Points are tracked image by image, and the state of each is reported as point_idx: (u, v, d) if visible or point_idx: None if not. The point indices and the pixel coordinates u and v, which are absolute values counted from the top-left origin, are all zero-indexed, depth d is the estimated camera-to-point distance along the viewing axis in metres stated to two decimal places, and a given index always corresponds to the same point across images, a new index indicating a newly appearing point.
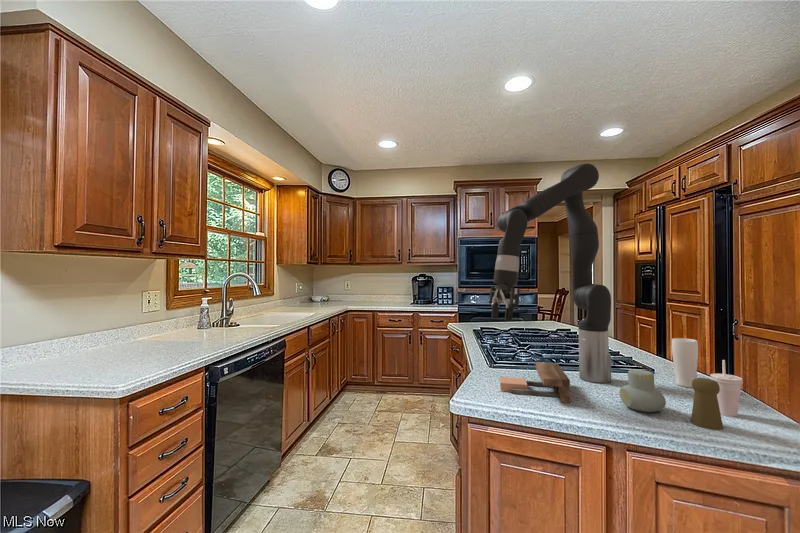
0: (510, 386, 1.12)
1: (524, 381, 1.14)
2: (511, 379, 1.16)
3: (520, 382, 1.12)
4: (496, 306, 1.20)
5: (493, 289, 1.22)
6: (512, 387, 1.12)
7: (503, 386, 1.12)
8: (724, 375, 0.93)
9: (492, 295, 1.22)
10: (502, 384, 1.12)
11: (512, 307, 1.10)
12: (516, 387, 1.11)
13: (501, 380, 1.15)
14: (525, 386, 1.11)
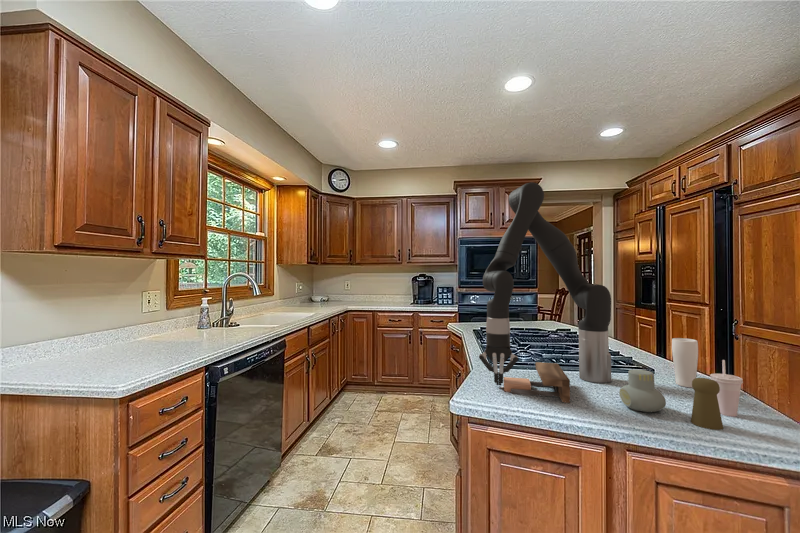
0: (514, 386, 1.11)
1: (528, 381, 1.14)
2: (515, 379, 1.16)
3: (524, 383, 1.12)
4: None
5: (483, 356, 1.17)
6: (516, 387, 1.11)
7: (507, 386, 1.12)
8: (724, 375, 0.93)
9: (487, 362, 1.16)
10: (506, 384, 1.12)
11: None
12: (520, 387, 1.11)
13: (505, 380, 1.15)
14: (529, 386, 1.10)
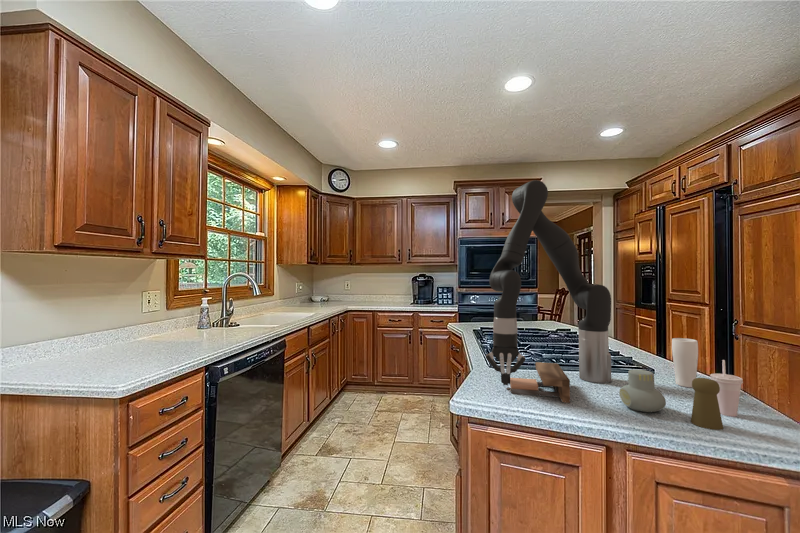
0: (521, 387, 1.11)
1: (535, 382, 1.13)
2: (521, 380, 1.15)
3: (531, 384, 1.11)
4: None
5: (489, 356, 1.16)
6: (523, 388, 1.11)
7: (514, 387, 1.11)
8: (724, 375, 0.93)
9: (493, 362, 1.16)
10: (513, 385, 1.11)
11: None
12: (527, 388, 1.10)
13: (511, 381, 1.14)
14: (536, 387, 1.10)
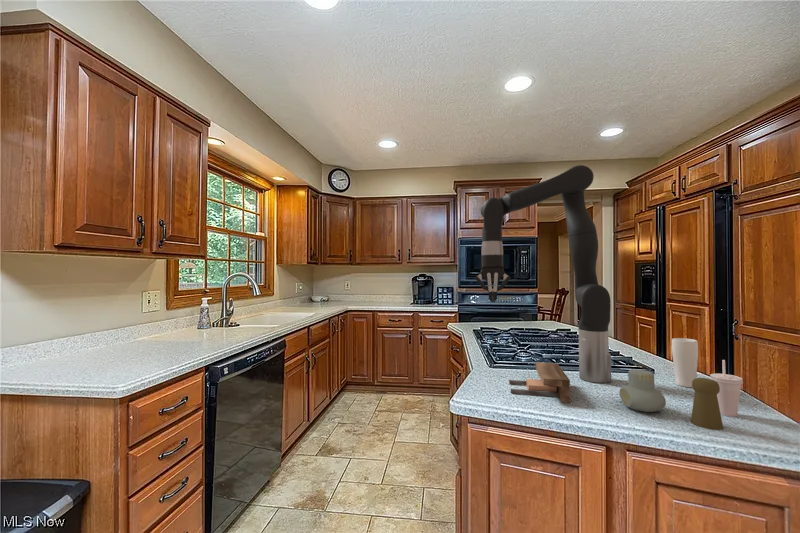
0: (539, 388, 1.09)
1: None
2: (538, 381, 1.14)
3: None
4: None
5: (478, 277, 1.28)
6: (541, 389, 1.09)
7: (531, 388, 1.10)
8: (724, 375, 0.93)
9: (482, 282, 1.28)
10: (530, 386, 1.10)
11: None
12: (545, 389, 1.09)
13: (528, 382, 1.13)
14: (554, 388, 1.08)
